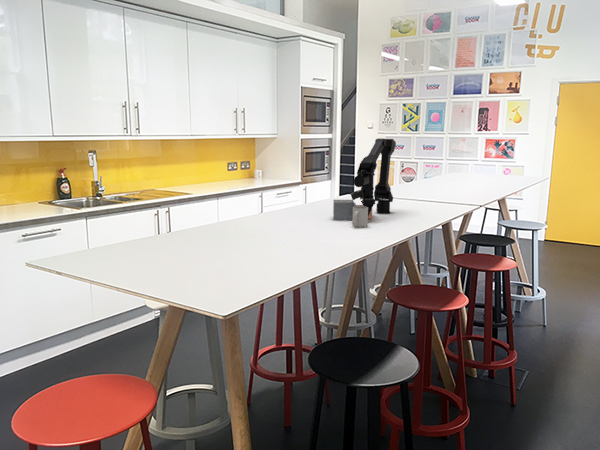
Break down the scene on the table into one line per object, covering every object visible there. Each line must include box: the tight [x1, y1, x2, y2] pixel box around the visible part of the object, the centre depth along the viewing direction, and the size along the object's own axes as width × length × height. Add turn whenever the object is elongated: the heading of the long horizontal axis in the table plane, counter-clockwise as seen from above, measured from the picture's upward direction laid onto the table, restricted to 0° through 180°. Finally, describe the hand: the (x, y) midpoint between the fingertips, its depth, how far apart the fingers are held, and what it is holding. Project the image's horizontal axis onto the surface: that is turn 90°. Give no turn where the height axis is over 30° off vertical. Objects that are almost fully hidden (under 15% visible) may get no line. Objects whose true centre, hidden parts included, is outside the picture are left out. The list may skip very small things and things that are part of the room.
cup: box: [351, 206, 369, 229], centre depth 237 cm, size 7×10×9 cm
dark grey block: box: [332, 199, 357, 221], centre depth 257 cm, size 11×10×9 cm
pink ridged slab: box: [354, 204, 373, 220], centre depth 257 cm, size 17×2×7 cm, turn 87°
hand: (366, 215), depth 257 cm, fingers closed on pink ridged slab, 2 cm apart
